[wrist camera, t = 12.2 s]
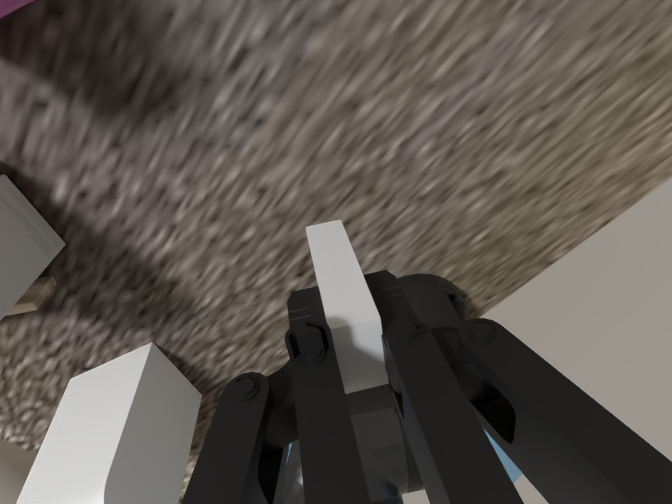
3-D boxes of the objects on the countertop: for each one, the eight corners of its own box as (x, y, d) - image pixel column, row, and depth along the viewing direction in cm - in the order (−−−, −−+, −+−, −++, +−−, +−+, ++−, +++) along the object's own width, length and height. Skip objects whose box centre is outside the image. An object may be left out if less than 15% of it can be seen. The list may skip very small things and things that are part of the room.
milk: (127, 428, 60) (50, 675, 37) (70, 379, 54) (-62, 638, 31) (202, 395, 59) (168, 627, 37) (152, 341, 53) (76, 580, 31)
